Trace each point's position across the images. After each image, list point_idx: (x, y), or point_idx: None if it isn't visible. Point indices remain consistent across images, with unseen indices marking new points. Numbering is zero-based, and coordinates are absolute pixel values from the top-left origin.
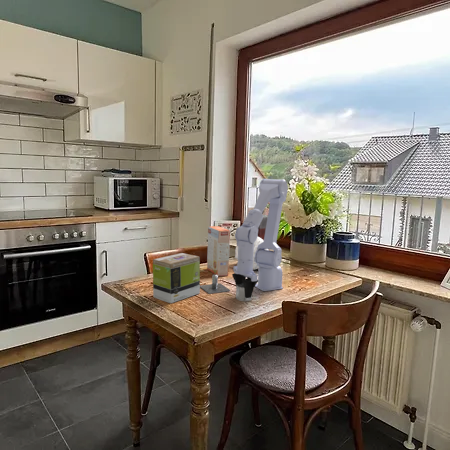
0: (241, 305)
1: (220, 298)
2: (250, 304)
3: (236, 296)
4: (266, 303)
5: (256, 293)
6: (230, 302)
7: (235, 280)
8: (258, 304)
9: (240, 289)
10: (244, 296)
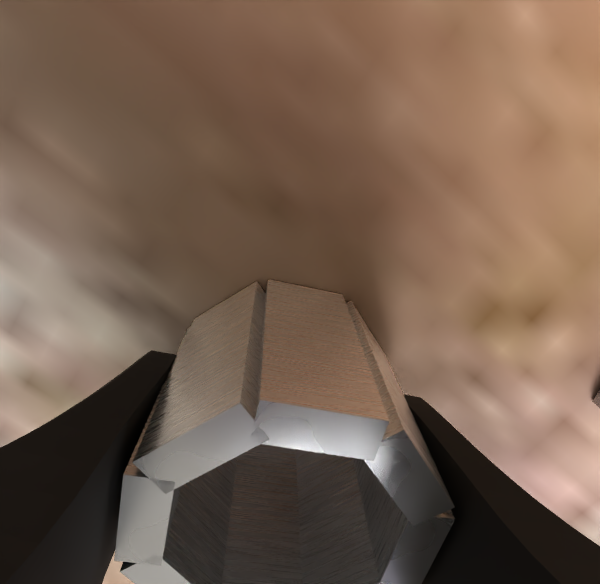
0: (76, 181)
1: (503, 106)
2: (58, 311)
3: (334, 306)
4: None
5: None
6: (269, 122)
7: (553, 549)
8: (17, 388)
9: (224, 382)
10: (181, 354)
